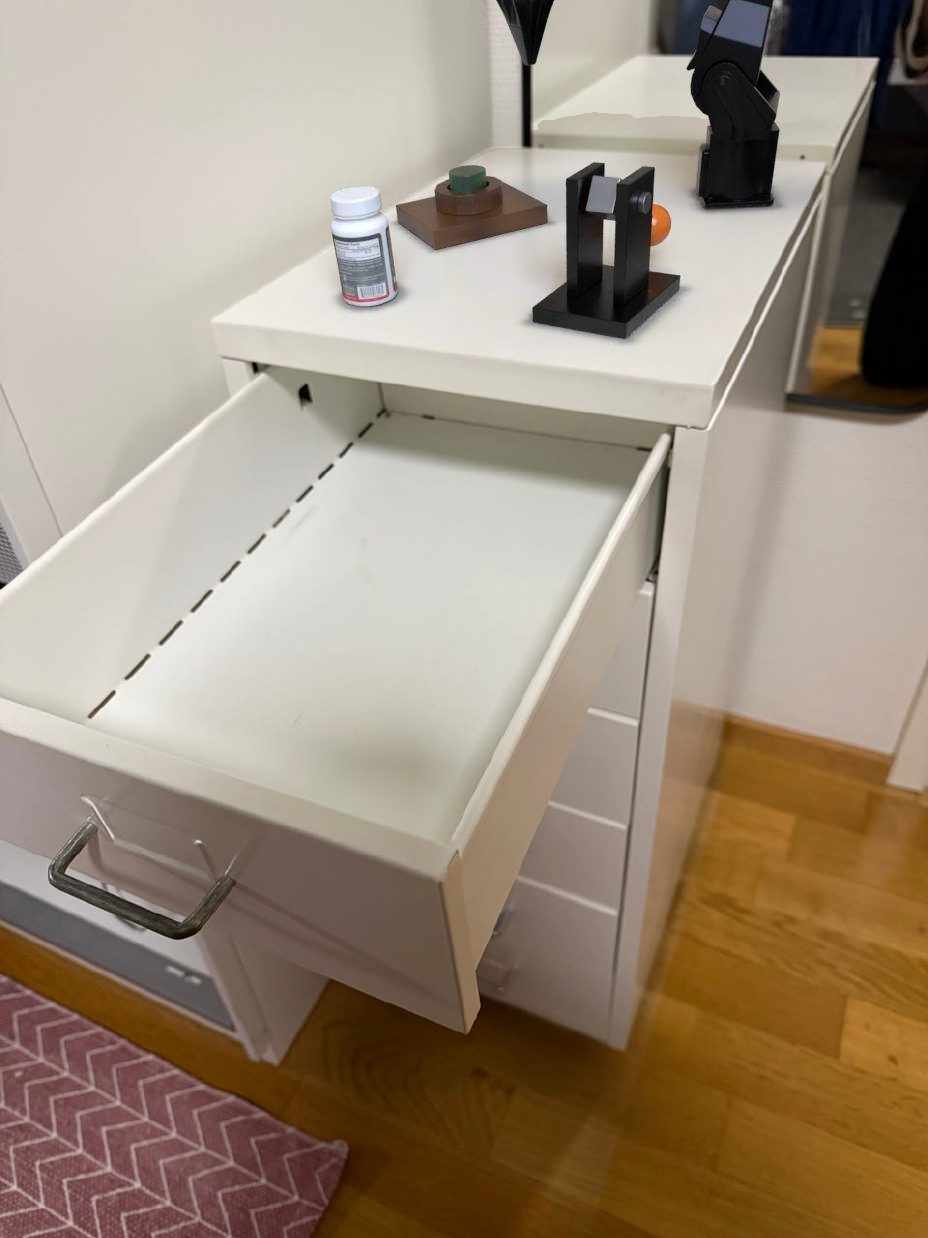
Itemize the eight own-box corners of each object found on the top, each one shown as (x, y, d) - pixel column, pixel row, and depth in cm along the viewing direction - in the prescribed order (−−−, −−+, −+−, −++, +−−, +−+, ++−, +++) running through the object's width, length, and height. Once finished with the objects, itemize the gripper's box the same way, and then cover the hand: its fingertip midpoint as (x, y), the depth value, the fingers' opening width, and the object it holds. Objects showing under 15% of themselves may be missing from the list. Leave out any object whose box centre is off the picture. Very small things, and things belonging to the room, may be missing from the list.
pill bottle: (364, 283, 78) (348, 181, 72) (408, 289, 76) (395, 186, 70) (332, 303, 75) (313, 199, 69) (377, 311, 73) (361, 204, 67)
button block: (502, 197, 93) (500, 161, 91) (547, 222, 86) (547, 184, 83) (397, 222, 90) (393, 185, 87) (435, 249, 83) (431, 210, 80)
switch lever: (635, 247, 75) (644, 206, 74) (670, 251, 73) (680, 210, 72) (577, 215, 65) (587, 168, 64) (617, 220, 63) (628, 171, 62)
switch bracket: (590, 276, 75) (592, 150, 68) (679, 289, 71) (690, 157, 65) (532, 322, 69) (527, 188, 62) (625, 339, 65) (631, 198, 59)
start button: (477, 181, 87) (476, 162, 86) (493, 189, 85) (492, 170, 84) (444, 188, 87) (442, 169, 85) (459, 197, 84) (457, 177, 83)
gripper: (461, -143, 66) (477, 94, 76) (672, -167, 71) (659, 59, 81) (407, -139, 74) (428, 76, 84) (600, -161, 78) (597, 44, 89)
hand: (529, 64), depth 84 cm, fingers closed
